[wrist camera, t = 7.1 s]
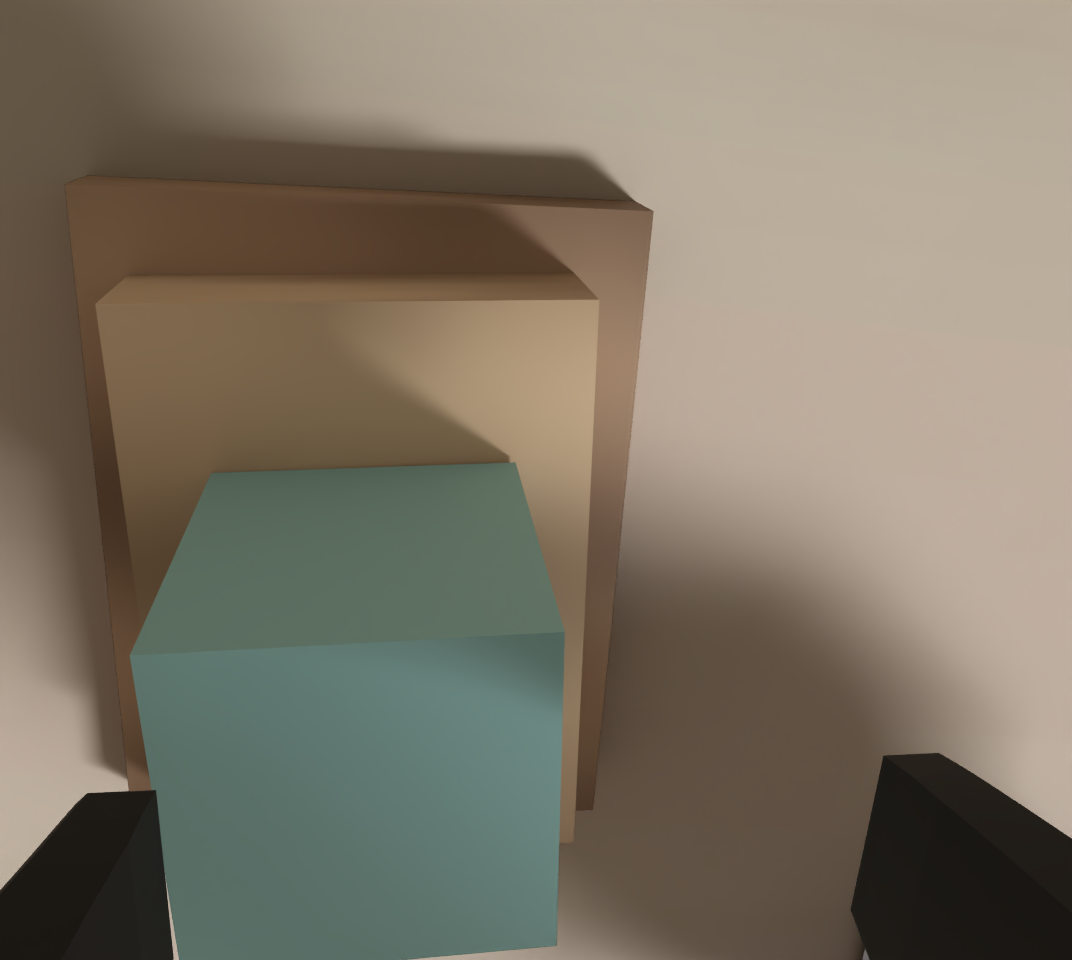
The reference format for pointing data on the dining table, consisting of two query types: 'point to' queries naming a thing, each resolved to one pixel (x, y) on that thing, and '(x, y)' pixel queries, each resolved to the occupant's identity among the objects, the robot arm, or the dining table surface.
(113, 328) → the top slab
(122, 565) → the bottom slab
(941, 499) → the dining table surface
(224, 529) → the teal block
